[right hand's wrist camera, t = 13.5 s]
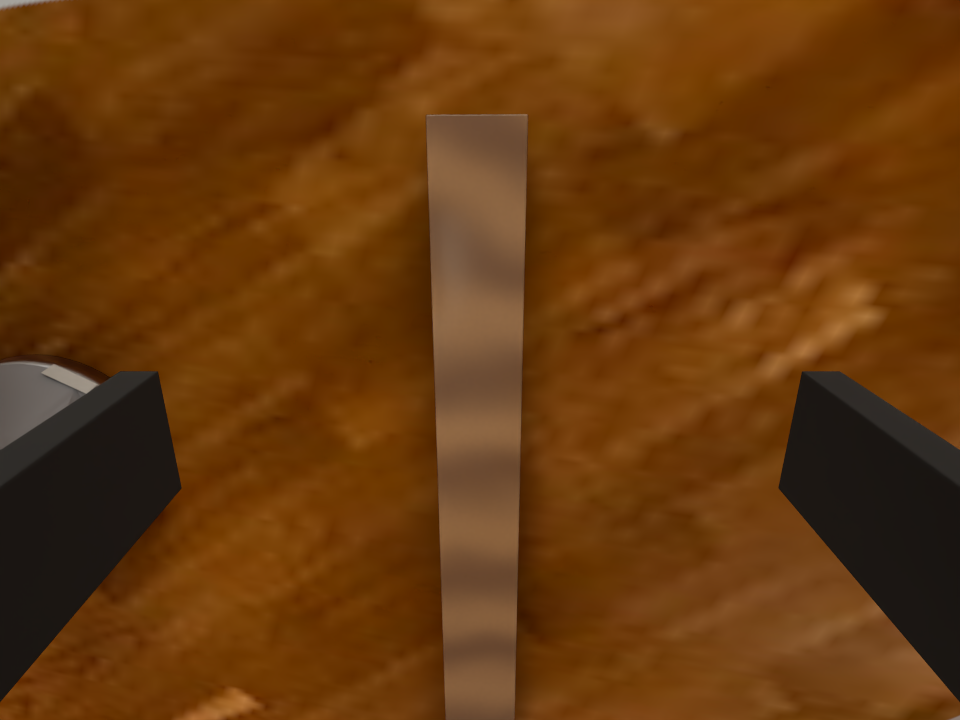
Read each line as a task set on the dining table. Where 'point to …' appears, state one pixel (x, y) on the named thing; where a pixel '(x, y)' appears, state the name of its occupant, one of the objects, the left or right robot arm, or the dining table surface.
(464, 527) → the bar
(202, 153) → the dining table surface
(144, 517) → the right robot arm
